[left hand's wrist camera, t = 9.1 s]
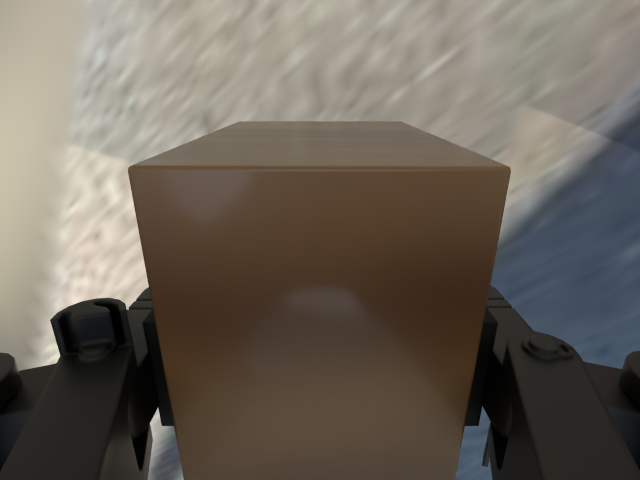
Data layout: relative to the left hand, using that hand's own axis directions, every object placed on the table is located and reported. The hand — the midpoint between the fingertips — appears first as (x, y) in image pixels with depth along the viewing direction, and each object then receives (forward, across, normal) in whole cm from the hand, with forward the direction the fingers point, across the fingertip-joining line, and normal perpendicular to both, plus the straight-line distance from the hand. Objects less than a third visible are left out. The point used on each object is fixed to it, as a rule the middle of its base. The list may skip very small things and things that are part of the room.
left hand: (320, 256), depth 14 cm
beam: (+1, 0, -34) cm, 34 cm away
